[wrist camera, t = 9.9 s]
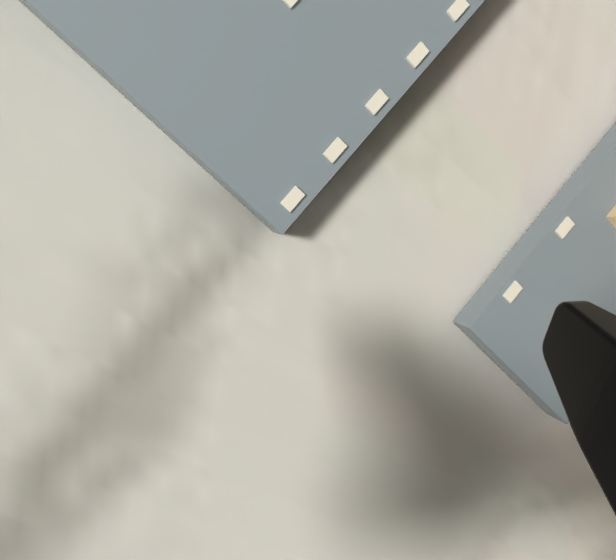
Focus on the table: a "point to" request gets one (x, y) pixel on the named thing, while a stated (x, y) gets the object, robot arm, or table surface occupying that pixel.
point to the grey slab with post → (550, 276)
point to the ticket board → (261, 79)
